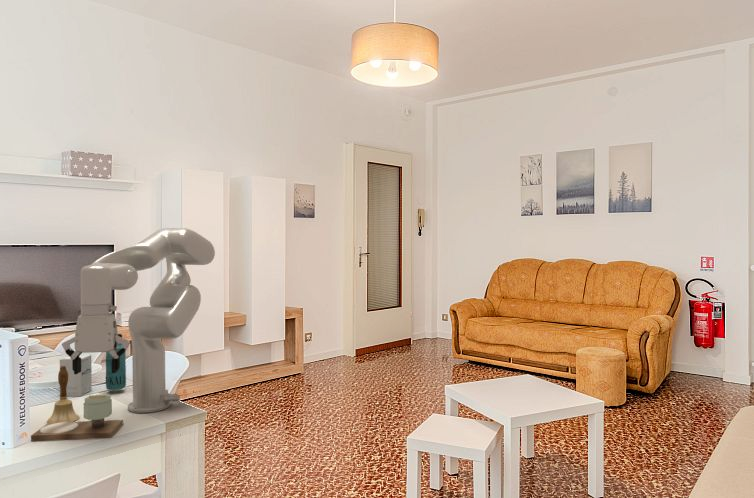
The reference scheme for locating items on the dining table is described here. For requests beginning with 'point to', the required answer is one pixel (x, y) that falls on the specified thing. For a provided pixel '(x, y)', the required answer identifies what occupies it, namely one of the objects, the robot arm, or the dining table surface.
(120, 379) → the beverage bottle
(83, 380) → the supplement box
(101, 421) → the post
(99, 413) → the cap
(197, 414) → the dining table surface
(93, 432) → the board
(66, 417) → the hand bell
